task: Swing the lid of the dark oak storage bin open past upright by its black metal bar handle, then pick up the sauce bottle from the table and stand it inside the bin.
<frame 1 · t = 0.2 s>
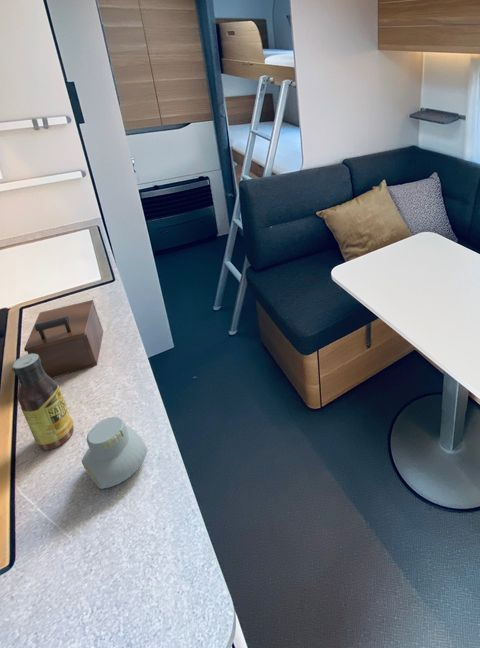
bin lid: (59, 316, 100), point 12 cm above the worktop, hinge at 0.0°
sauce bottle: (57, 437, 84), on the worktop
bin: (74, 354, 105), on the worktop
air freshener: (119, 467, 78), on the worktop
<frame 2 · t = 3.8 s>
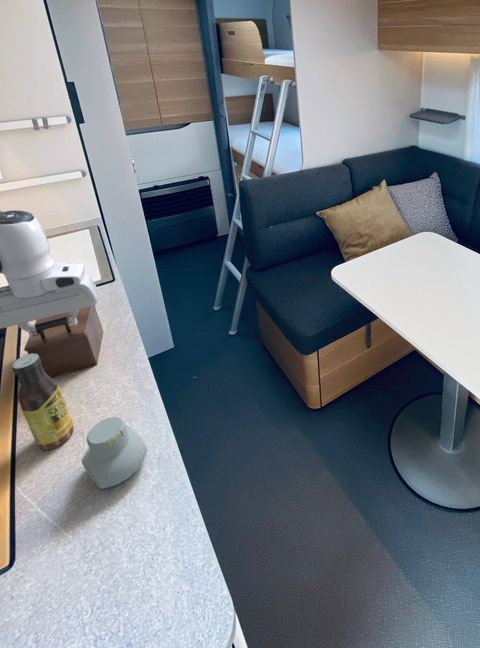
hand: (55, 329, 96), 12 cm above the worktop, tool pointing down, fingers closed on bin lid, 6 cm apart
bin lid: (59, 316, 100), point 12 cm above the worktop, hinge at 0.0°, touching gripper
everything else where it was.
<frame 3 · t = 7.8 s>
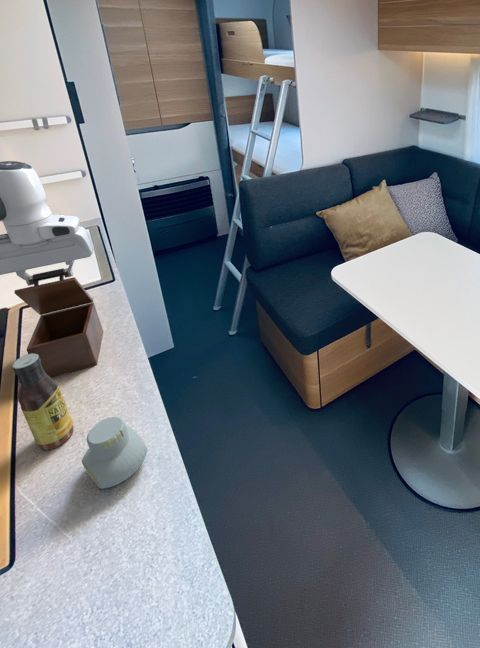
hand: (51, 279, 100), 21 cm above the worktop, tool pointing down, fingers closed on bin lid, 6 cm apart
bin lid: (56, 289, 102), point 17 cm above the worktop, hinge at 55.9°, touching gripper
everything else where it was.
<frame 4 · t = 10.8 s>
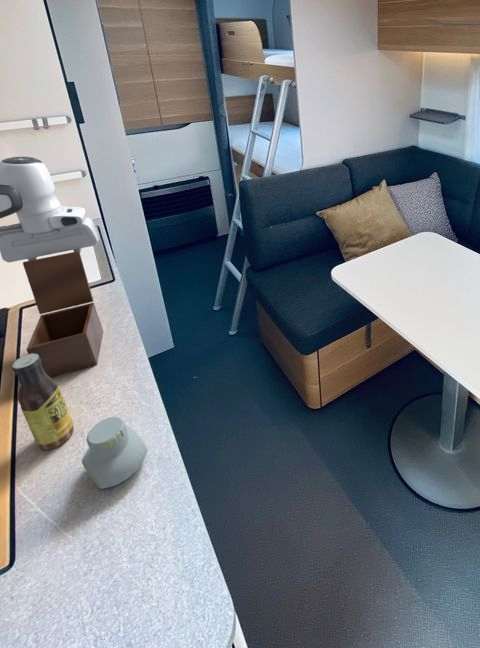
hand: (60, 266, 108), 20 cm above the worktop, tool pointing down, fingers closed on bin lid, 6 cm apart
bin lid: (61, 279, 107), point 17 cm above the worktop, hinge at 97.2°, touching gripper
everything else where it was.
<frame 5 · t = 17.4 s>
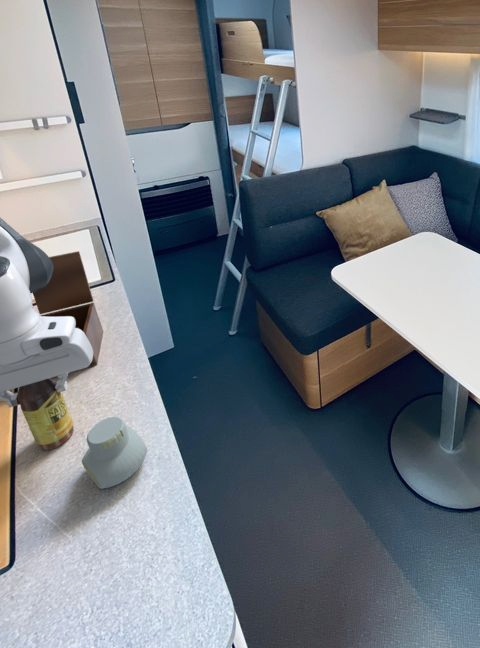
hand: (40, 396, 80), 11 cm above the worktop, tool pointing down, fingers closed on sauce bottle, 6 cm apart
bin lid: (61, 279, 107), point 17 cm above the worktop, hinge at 96.9°
sauce bottle: (57, 437, 84), on the worktop, touching gripper
everything else where it was.
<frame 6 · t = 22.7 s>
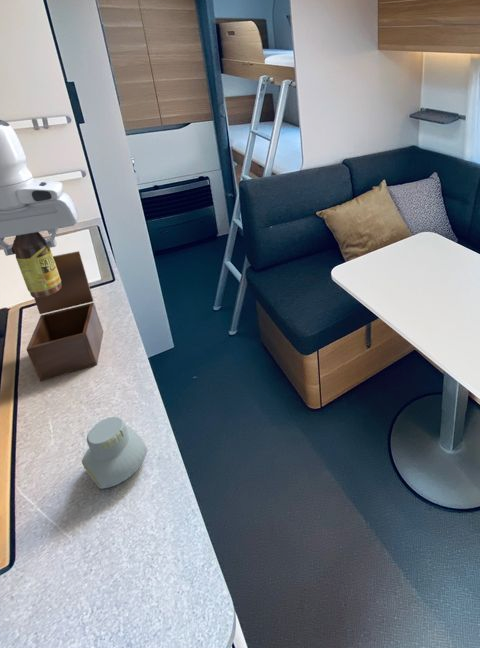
hand: (32, 250, 93), 31 cm above the worktop, tool pointing down, fingers closed on sauce bottle, 6 cm apart
sauce bottle: (47, 292, 97), point 20 cm above the worktop, touching gripper
everything else where it was.
when the fingers open (12 cm above the worktop, at t = 28.3 s): sauce bottle stays where it is, resting on bin.
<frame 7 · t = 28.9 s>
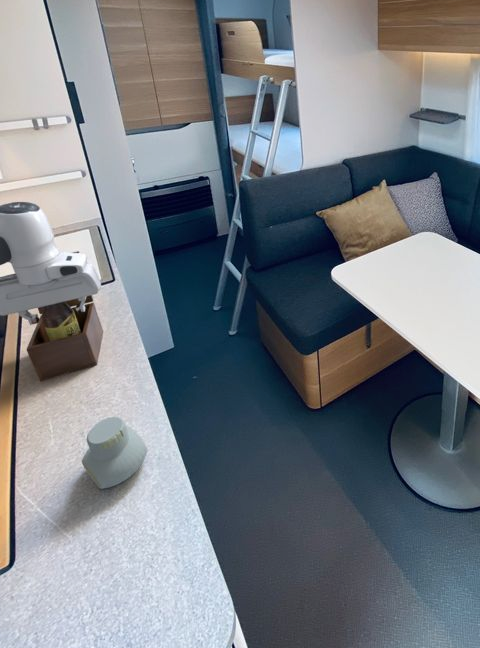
hand: (58, 316, 100), 12 cm above the worktop, tool pointing down, fingers open, 8 cm apart
sauce bottle: (72, 354, 105), point 1 cm above the worktop, touching bin
everything else where it was.
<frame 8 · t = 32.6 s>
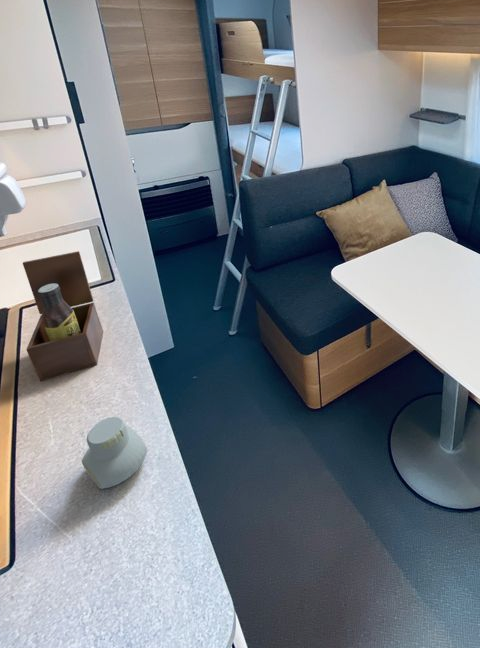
nothing on the worktop moved.
at the end: bin lid at +97° (first picture: +0°); sauce bottle inside the target area in the bin (0.5 cm from its centre), point 0.6 cm above the bin's base; sauce bottle tilted 0° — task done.
